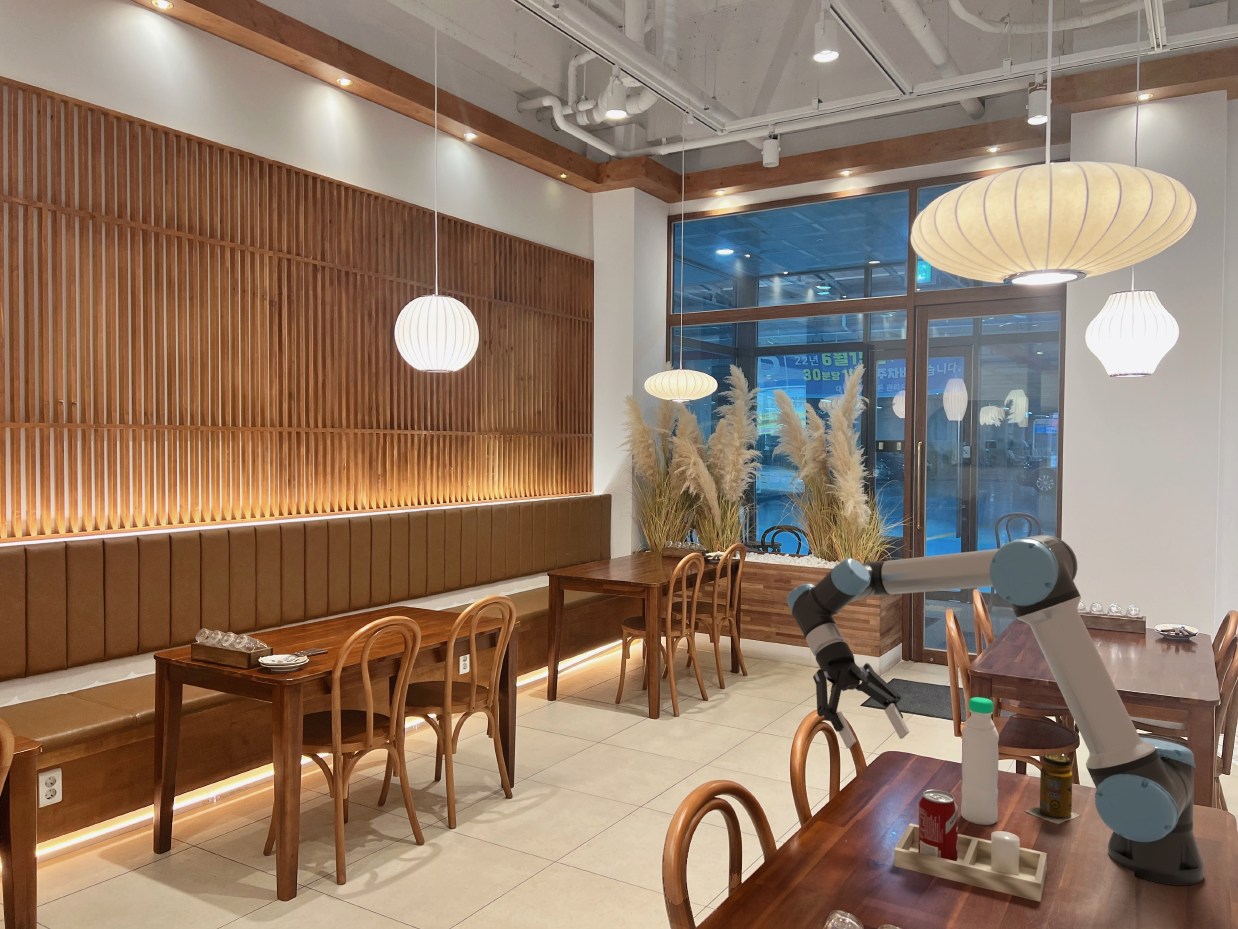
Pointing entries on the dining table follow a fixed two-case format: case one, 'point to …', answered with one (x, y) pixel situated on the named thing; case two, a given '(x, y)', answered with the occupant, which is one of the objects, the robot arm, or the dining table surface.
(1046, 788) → the condiment
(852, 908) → the dining table surface
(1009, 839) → the salt shaker
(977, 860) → the drink caddy
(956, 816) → the soda can
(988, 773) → the water bottle
